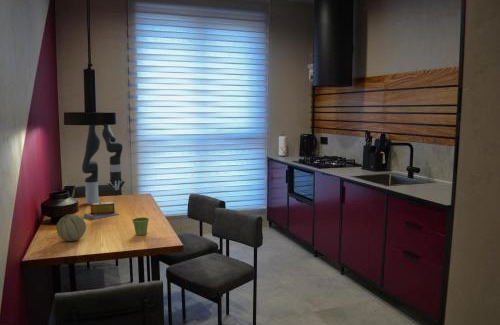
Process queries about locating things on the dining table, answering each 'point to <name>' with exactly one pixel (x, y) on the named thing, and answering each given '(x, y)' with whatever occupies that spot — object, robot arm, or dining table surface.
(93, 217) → the bookend
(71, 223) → the cantaloupe
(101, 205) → the baking soda box
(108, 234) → the dining table surface
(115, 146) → the robot arm
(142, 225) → the plant pot
